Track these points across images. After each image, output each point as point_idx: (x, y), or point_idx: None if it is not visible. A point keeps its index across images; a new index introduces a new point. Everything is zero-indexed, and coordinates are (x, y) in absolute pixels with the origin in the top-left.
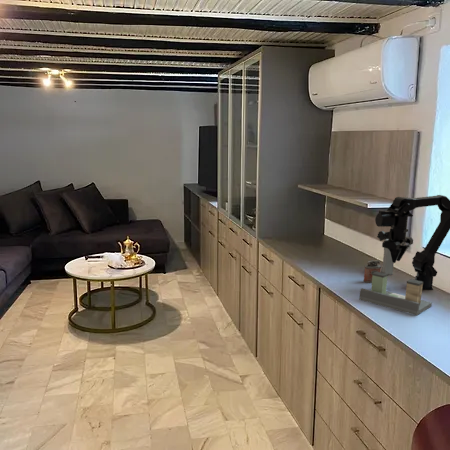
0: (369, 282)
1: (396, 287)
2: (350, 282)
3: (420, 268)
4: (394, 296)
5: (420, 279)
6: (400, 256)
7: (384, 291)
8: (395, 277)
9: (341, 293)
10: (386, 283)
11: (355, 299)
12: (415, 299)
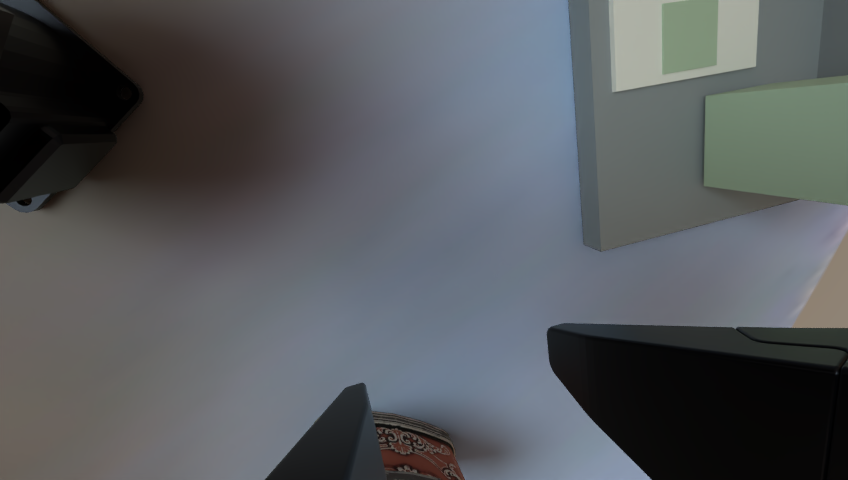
0: (427, 426)
1: (323, 245)
2: (535, 475)
3: (9, 15)
4: (701, 18)
5: (35, 92)
6: (370, 446)
7: (764, 87)
8: (10, 475)
9: (766, 326)
10: (821, 84)
11: (806, 206)
12: None
